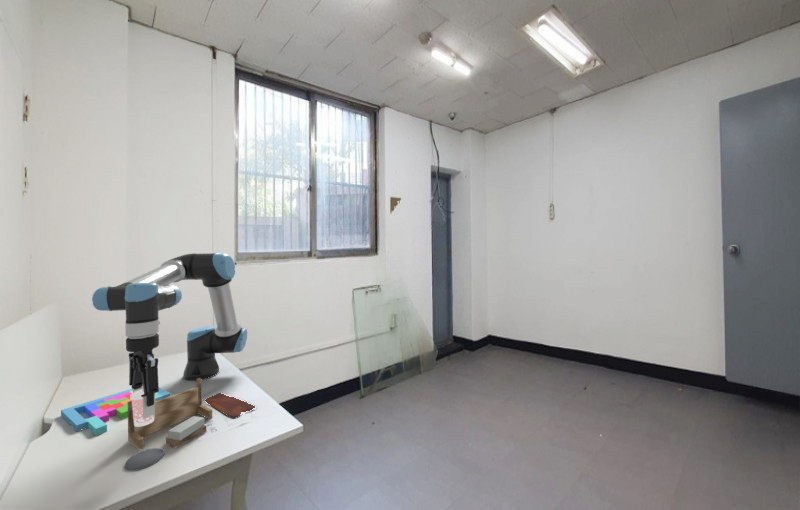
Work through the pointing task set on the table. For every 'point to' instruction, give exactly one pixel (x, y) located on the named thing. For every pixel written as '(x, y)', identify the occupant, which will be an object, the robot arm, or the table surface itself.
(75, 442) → the table surface
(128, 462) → the coaster
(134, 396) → the beverage cup
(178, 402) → the rack
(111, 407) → the tetris game
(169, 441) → the offcut lower
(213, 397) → the wooden tablet
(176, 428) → the offcut upper
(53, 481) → the table surface
